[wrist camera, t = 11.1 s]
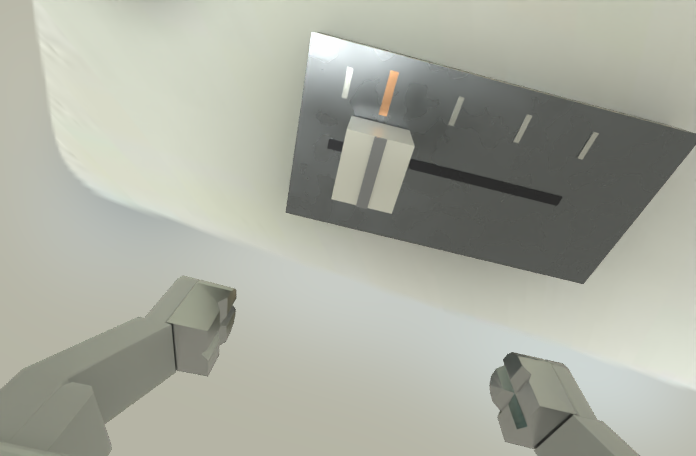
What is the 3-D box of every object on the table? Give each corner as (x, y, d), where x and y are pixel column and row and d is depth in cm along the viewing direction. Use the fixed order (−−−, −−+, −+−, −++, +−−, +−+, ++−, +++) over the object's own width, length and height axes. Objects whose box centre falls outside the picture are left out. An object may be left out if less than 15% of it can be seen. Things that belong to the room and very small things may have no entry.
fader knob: (409, 130, 24) (415, 147, 20) (390, 190, 26) (391, 215, 23) (351, 115, 23) (346, 129, 20) (337, 177, 26) (330, 200, 22)
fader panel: (669, 125, 25) (704, 136, 22) (566, 264, 32) (583, 284, 30) (318, 32, 24) (311, 31, 21) (293, 198, 31) (285, 213, 28)
